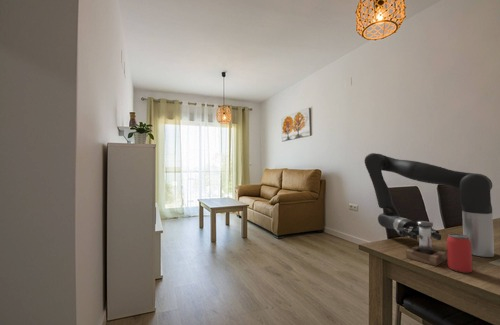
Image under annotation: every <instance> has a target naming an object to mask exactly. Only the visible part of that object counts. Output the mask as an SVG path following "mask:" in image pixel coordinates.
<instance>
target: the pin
mask: <svg viewBox="0 0 500 325" xmlns="http://www.w3.org/2000/svg"><path fill="white" fill-rule="evenodd" d="M416 223H417V225H418V226H419V236H418V244H419V245H418V246H419V251H420V252H421V253H426V254H430V255H432V249H433V246H432V244H433V243H432V237H431V228H433V227H434V225H433V224H434V223H433V222H431V221H426V220H425V221H424V220H417V221H416Z"/></svg>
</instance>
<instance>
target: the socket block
mask: <svg viewBox="0 0 500 325" xmlns="http://www.w3.org/2000/svg"><path fill="white" fill-rule="evenodd" d="M405 254H406V257H405V258H406V259H409V260H412V261H413V260H414V261H417V262H421V263H424V264H428V265H430V266H435V267H437V266H439V265H440V264H442V263H444V262H445V261H446V260H447V251H443V250H440V249H439V250H438V249H435V248H434V249H433V248H432V255H430V254H426V253H421V252H420V251H419V245H415V246H413V247H411V248H409V249H406V250H405Z"/></svg>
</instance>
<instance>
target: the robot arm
mask: <svg viewBox="0 0 500 325" xmlns="http://www.w3.org/2000/svg"><path fill="white" fill-rule="evenodd" d="M364 164H365V167H366V170H367V172H368V174H369V175H368V176H369V177H370V180H371V182H372V185H373V188H374V192H375V197H376V201H377V204H378V207H379V208H380V209H384V210H385V209H386V210H388V212H385V213H380V214H379V215H378V216H377V222H378V224H379V225H380V226H381V227H382V228H385V229H390V230H391V229H392V230H395V231H396V234H398V235H399V236H401V237H403V238H405V237H406V238H409V239H413V240H414V241H415V240H416V241H417V240H418V237H419V226H418V225H417V221H413V220H411V219H408V218H405V217H402V216H401V215H400V213H399V212H398V210H397V208H396V206H395V204H394V202H393V198H392V193H391V190H390V188H389V187H388V185H387V182H386V181H385V178H384V175H383V172H382V171H384V172H389V173H395V174H397V175H399V176H401V177H404V178H406V179H409V180H412V181H417V182H421V183H426V184H431V185H432V184H434V185H440V186H441V185H442V186H448V187H453V188H455V189H459V196H460V204H461V213H462V214H461V215H462V235H466V236H468V237H469V239H470V241H471V248H472V256H473V255H474V256H477V257H485V258H491V257H492V258H493V257H494V256H495V242H494V240H495V239H494V220H493V219H494V218H493V206H492V201H491V200H492V197H491V195H492V194H491V190H492V189H493V182H492V180H491V178H489V177H488V176H487V175H484V174H481V173H473V172H465V171H457V170H453V169H448V168H445V167H442V166H438V165H435V164H430V163H425V162H421V161H418V160H417V161H416V160H409V159H408V160H407V159H406V160H405V159H399V158H398V159H397V158H394V157H391V156H386V155H385V154H381V153H376V152H375V153H374V152H371V153H368V154H367V155H366V156H365V157H364ZM431 238H433V239H435V240H436V241H441V240H442V234H440V230H437V229H434V228H433V227H431Z"/></svg>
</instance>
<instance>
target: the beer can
mask: <svg viewBox="0 0 500 325" xmlns="http://www.w3.org/2000/svg"><path fill="white" fill-rule="evenodd" d="M447 236H448V237H447V239H446V260H447V267H448V268H449V269H450V270H451V271H455V272H458V273H463V274H468V273H472V272H473V255H472V248H471V241H470V239H469V237H468V236H466V235H463V233H462V234H461V233H448V235H447Z"/></svg>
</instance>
